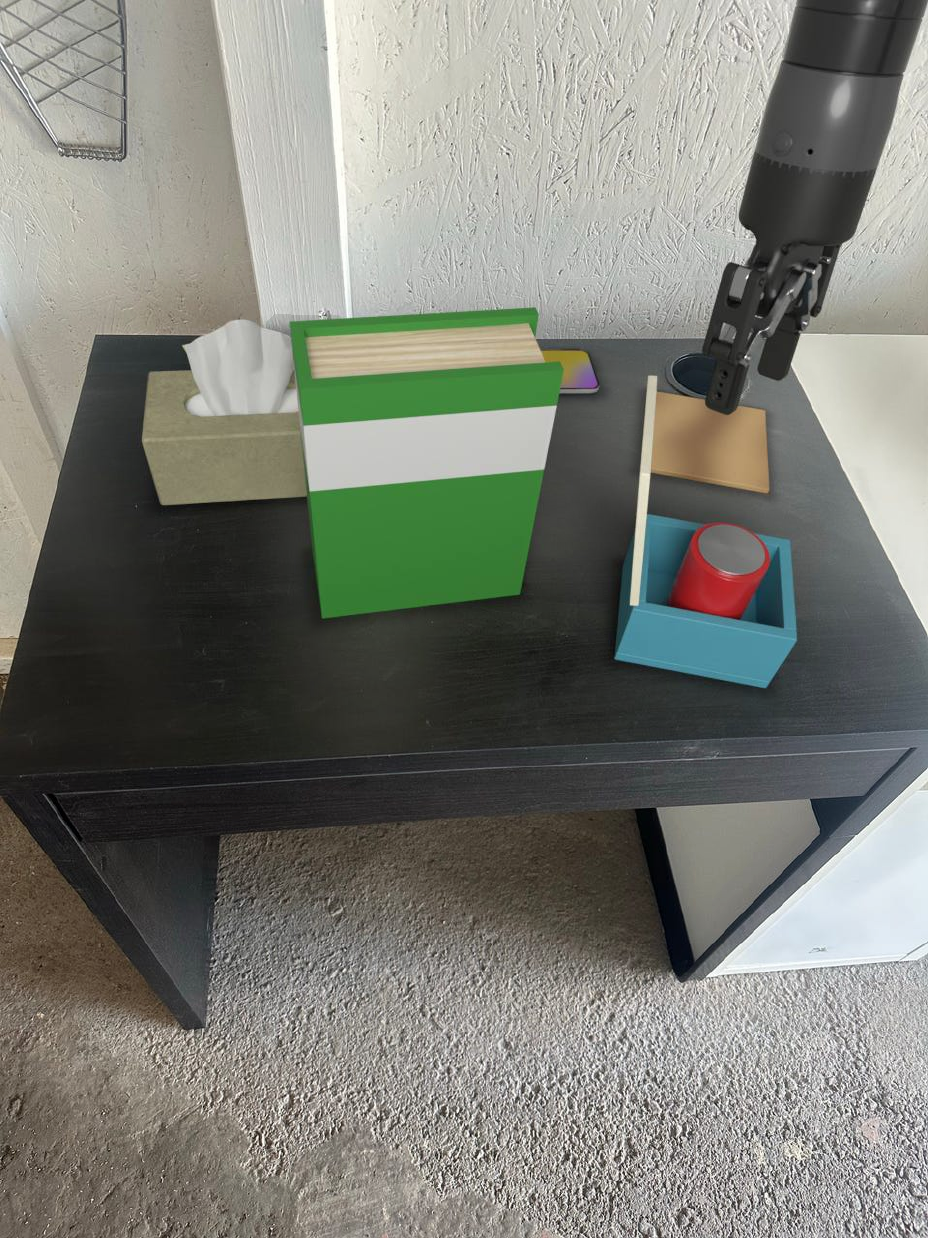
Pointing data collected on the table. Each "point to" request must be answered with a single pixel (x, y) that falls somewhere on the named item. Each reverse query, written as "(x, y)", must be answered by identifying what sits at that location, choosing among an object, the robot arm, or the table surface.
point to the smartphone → (574, 370)
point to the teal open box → (697, 637)
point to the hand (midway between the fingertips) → (746, 392)
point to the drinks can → (720, 571)
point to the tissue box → (226, 420)
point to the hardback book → (422, 454)
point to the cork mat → (710, 443)
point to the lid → (643, 489)
